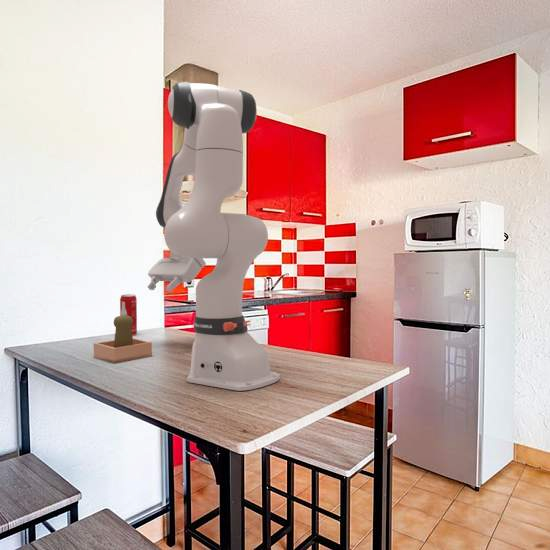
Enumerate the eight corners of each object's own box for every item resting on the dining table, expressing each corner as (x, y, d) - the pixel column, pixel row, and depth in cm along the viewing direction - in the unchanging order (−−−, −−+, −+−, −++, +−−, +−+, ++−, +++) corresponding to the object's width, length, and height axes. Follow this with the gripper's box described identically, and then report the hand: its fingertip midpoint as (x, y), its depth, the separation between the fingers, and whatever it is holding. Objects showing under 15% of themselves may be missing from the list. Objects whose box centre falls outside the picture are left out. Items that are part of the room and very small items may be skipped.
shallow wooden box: (152, 356, 126) (151, 342, 125) (114, 363, 117) (114, 348, 117) (130, 350, 133) (130, 337, 133) (93, 357, 124) (93, 343, 124)
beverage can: (133, 333, 165) (132, 293, 164) (140, 335, 160) (139, 294, 159) (117, 335, 161) (116, 294, 160) (124, 337, 156) (123, 295, 155)
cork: (108, 355, 123) (107, 316, 122) (120, 351, 129) (120, 314, 128) (127, 356, 121) (126, 317, 121) (139, 352, 127) (138, 314, 127)
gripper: (159, 251, 146) (133, 281, 139) (198, 249, 132) (172, 283, 125) (170, 264, 149) (146, 294, 142) (209, 264, 136) (185, 297, 129)
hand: (158, 289), depth 134 cm, fingers open, 8 cm apart
